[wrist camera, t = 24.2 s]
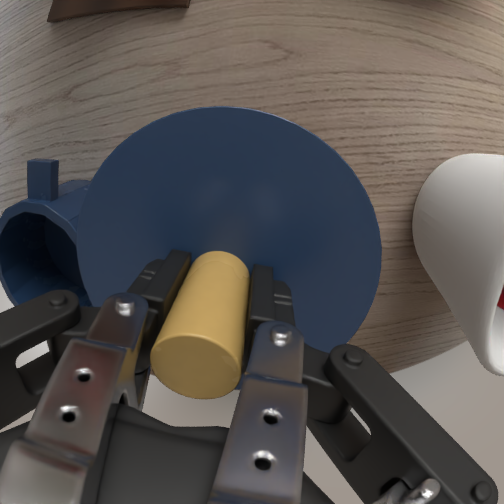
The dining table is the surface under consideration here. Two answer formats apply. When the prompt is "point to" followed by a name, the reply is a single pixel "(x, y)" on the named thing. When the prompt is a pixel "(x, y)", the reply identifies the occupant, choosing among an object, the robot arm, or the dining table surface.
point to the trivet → (105, 7)
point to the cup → (467, 247)
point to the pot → (42, 237)
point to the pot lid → (230, 235)
